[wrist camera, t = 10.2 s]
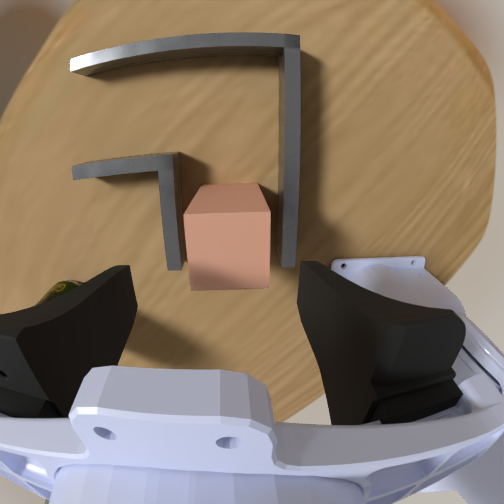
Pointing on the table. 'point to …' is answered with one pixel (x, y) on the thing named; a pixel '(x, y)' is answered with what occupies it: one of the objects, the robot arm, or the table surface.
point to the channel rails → (170, 162)
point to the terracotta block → (228, 238)
